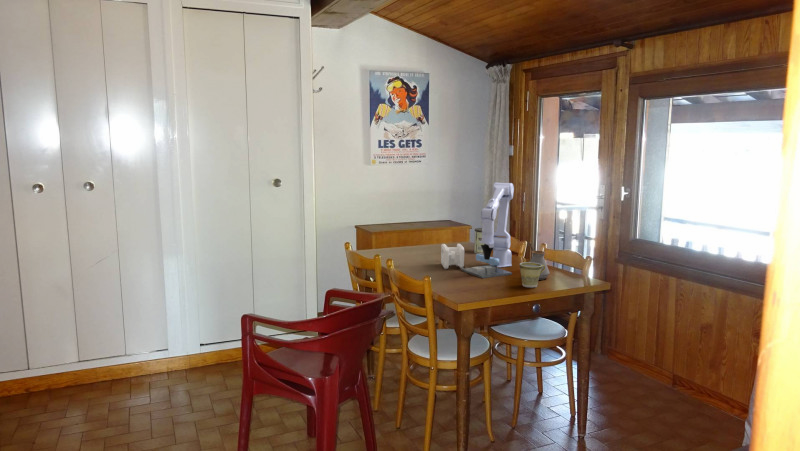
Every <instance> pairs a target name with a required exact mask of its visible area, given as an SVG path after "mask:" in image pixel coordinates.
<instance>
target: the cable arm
mask: <svg viewBox="0 0 800 451" xmlns="http://www.w3.org/2000/svg"><path fill="white" fill-rule="evenodd" d="M475 260H476V261H479V262H480V263H481V262H482V263H486V264H488V265H489V264H492V265H494V266H498V265H499V259H498V258H493V256H490V259H489V260H485V259H484V254H477V253H475ZM492 265H491V266H492Z"/></svg>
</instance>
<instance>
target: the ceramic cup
mask: <svg viewBox="0 0 800 451" xmlns="http://www.w3.org/2000/svg"><path fill="white" fill-rule="evenodd" d="M542 266H544V265H541V264H539V263H533V262H530V261H528V262H527V261H526V262H525V261H524V262H520V263H519V270H520V278H521V284H522V287H525V288H531V289H532V288H537V287H538V283H539V275H540V274H541V273H542V272H543V271H544V269H545V266H544V269H543V270H542V271H541V268H542Z"/></svg>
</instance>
